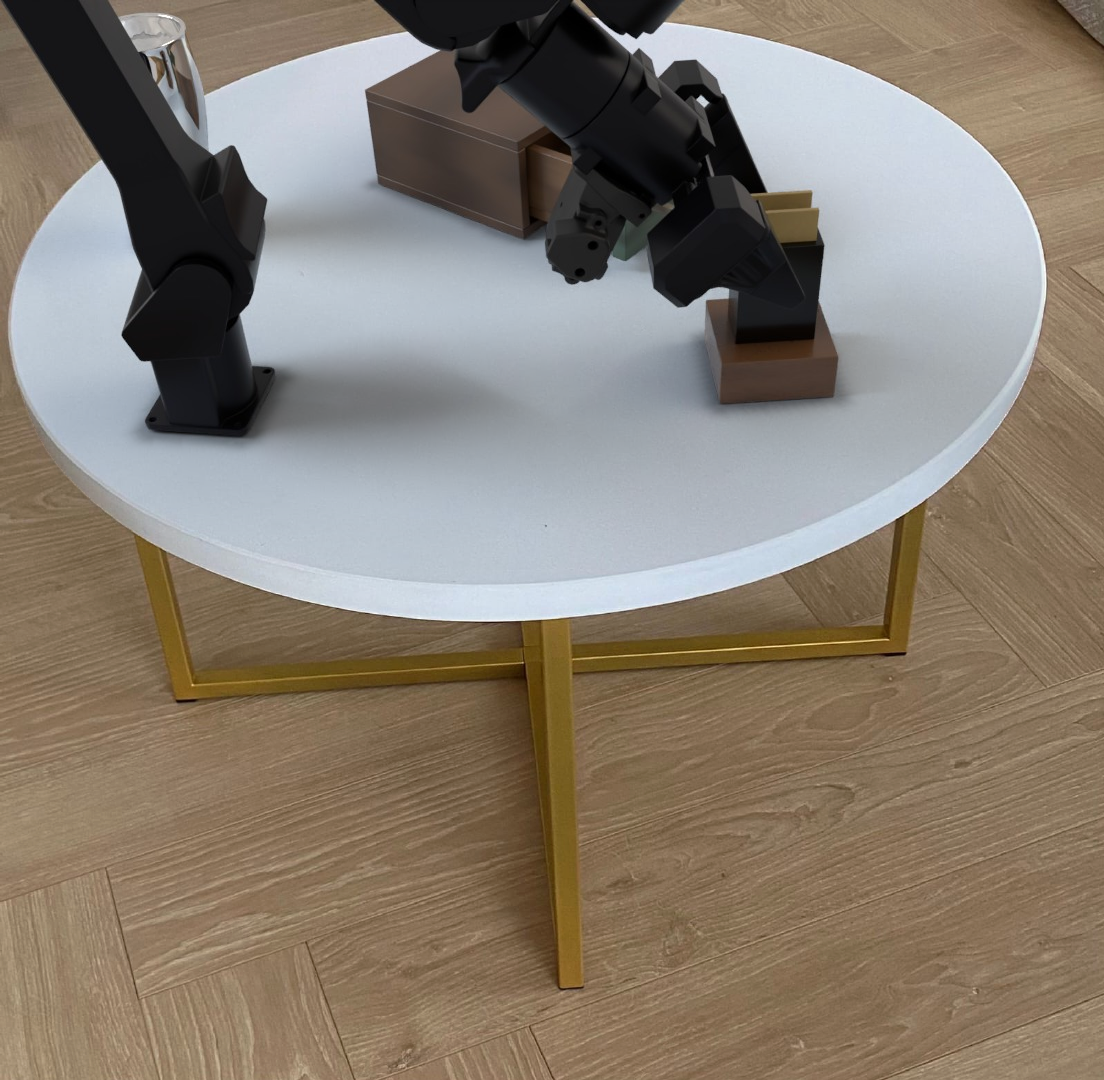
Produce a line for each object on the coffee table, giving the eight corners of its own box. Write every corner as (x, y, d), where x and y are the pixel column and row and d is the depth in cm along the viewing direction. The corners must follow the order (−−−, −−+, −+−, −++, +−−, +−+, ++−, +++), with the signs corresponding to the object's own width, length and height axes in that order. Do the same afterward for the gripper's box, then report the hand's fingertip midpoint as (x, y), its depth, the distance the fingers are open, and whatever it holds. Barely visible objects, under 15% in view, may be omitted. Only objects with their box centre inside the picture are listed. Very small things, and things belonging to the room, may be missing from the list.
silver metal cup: (212, 260, 97) (163, 56, 87) (122, 253, 98) (63, 51, 88) (247, 211, 102) (204, 12, 92) (161, 205, 103) (109, 8, 93)
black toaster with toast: (814, 339, 82) (828, 213, 76) (735, 344, 82) (742, 218, 76) (804, 309, 84) (817, 185, 78) (727, 315, 84) (734, 190, 78)
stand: (834, 397, 82) (839, 356, 80) (719, 404, 82) (721, 364, 80) (812, 332, 88) (816, 292, 86) (704, 338, 88) (705, 299, 86)
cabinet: (627, 170, 104) (627, 74, 99) (523, 240, 97) (517, 141, 92) (484, 121, 111) (477, 30, 106) (377, 184, 104) (364, 89, 99)
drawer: (775, 213, 97) (781, 137, 93) (684, 284, 91) (687, 206, 87) (573, 145, 106) (570, 73, 102) (477, 206, 100) (470, 132, 96)
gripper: (491, 122, 83) (668, 266, 91) (497, 287, 69) (706, 441, 77) (617, -17, 78) (795, 149, 85) (651, 133, 64) (859, 314, 72)
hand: (784, 260), depth 80 cm, fingers open, 9 cm apart
